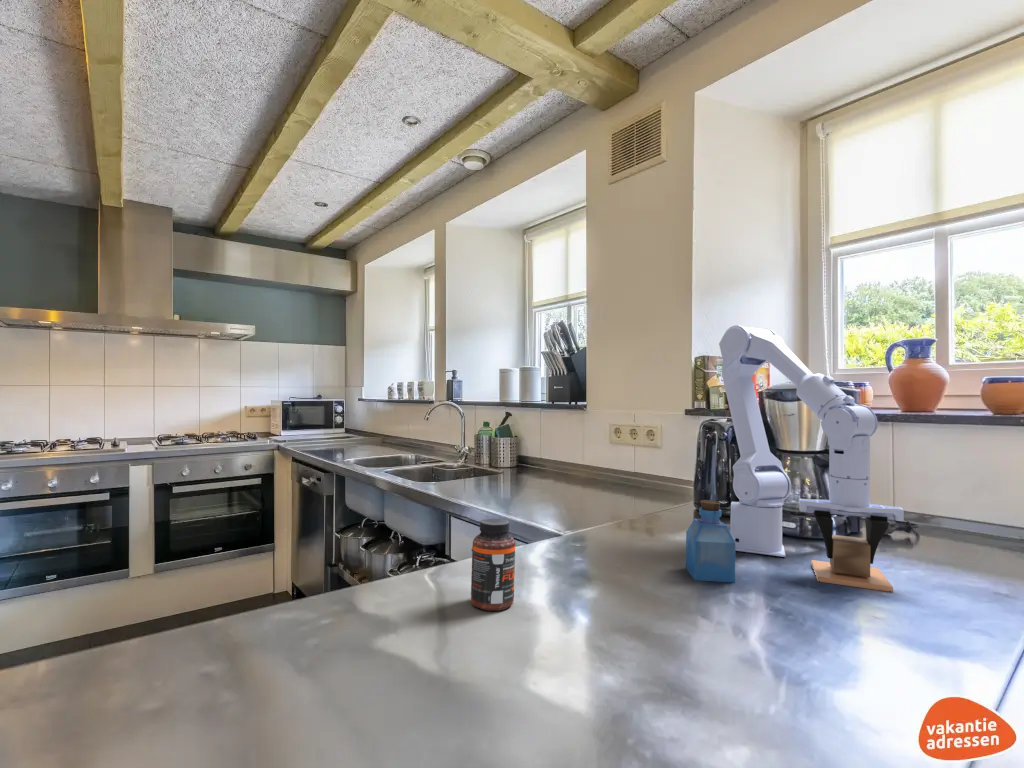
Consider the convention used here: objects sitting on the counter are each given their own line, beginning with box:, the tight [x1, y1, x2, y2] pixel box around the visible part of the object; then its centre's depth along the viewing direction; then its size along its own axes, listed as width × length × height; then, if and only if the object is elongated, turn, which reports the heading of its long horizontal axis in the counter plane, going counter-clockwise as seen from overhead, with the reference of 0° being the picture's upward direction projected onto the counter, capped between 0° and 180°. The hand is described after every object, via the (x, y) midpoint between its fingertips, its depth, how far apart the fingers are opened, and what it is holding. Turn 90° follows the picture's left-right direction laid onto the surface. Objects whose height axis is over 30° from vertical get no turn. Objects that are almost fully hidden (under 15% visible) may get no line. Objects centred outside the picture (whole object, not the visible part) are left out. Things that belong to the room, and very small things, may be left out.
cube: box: [829, 534, 871, 577], centre depth 87 cm, size 5×5×5 cm
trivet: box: [810, 559, 894, 593], centre depth 87 cm, size 10×10×1 cm
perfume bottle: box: [685, 499, 736, 583], centre depth 87 cm, size 6×6×12 cm
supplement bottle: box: [470, 517, 516, 612], centre depth 72 cm, size 6×6×11 cm
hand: (849, 559), depth 87 cm, fingers closed on cube, 5 cm apart
